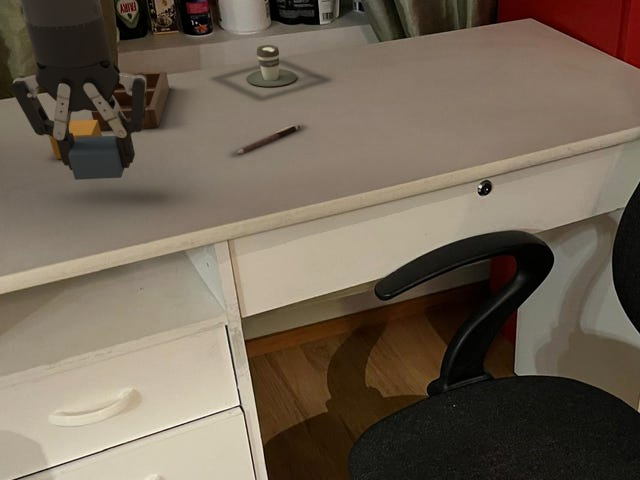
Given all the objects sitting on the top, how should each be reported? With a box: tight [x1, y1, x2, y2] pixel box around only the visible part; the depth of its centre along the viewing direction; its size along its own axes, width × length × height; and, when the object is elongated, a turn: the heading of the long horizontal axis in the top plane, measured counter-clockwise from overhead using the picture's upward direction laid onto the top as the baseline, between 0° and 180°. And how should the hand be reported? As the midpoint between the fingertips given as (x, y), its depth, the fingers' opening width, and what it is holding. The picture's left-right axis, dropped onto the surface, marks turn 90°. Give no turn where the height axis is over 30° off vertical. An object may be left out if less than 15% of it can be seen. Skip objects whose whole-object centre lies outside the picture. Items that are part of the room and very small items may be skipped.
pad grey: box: [68, 135, 125, 181], centre depth 98 cm, size 5×5×3 cm
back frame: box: [90, 71, 170, 131], centre depth 123 cm, size 8×15×3 cm, turn 10°
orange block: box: [48, 119, 103, 160], centre depth 111 cm, size 5×5×3 cm
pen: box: [236, 124, 300, 155], centre depth 115 cm, size 11×1×1 cm, turn 144°
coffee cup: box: [246, 44, 298, 88], centre depth 133 cm, size 12×12×5 cm
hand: (100, 165), depth 99 cm, fingers closed on pad grey, 5 cm apart
